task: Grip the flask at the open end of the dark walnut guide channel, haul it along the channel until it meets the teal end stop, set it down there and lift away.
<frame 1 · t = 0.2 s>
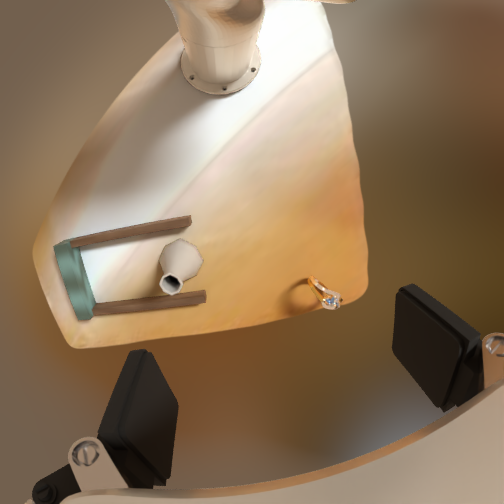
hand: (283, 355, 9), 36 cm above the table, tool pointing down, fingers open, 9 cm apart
flask: (181, 259, 46), on the table
guide channel: (137, 266, 45), on the table
ring: (317, 281, 49), on the table
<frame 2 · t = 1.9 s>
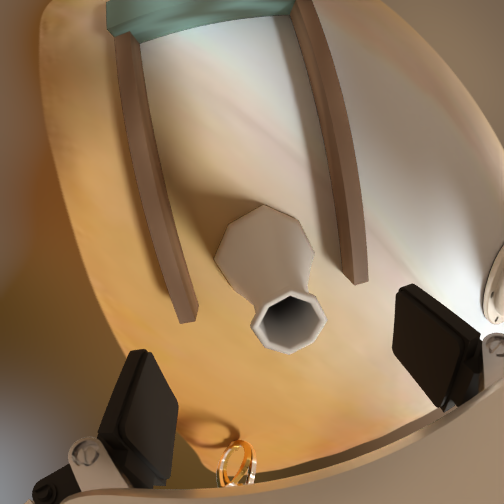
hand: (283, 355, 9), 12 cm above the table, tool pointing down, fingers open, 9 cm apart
flask: (264, 253, 21), on the table
guide channel: (242, 149, 19), on the table
ring: (234, 441, 28), on the table
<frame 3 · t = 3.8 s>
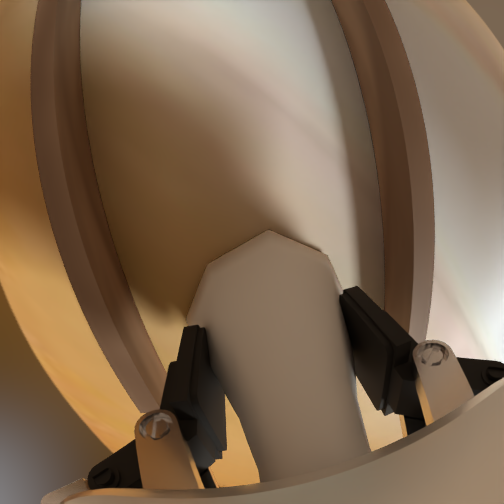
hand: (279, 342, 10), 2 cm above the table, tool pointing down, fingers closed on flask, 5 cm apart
flask: (268, 308, 13), on the table, touching gripper
guide channel: (231, 129, 10), on the table
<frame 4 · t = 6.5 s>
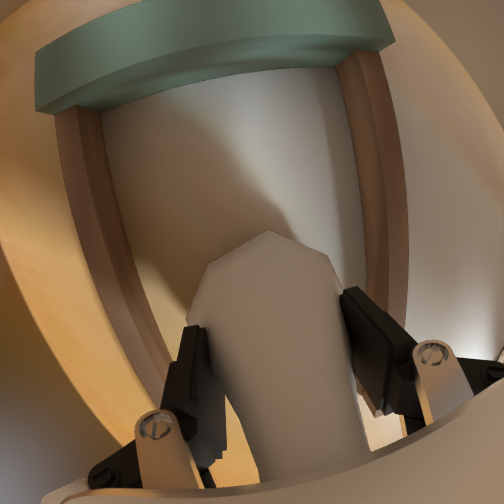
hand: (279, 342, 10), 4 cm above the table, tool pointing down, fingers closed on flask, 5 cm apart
flask: (268, 308, 13), point 2 cm above the table, touching gripper
guide channel: (261, 293, 14), on the table
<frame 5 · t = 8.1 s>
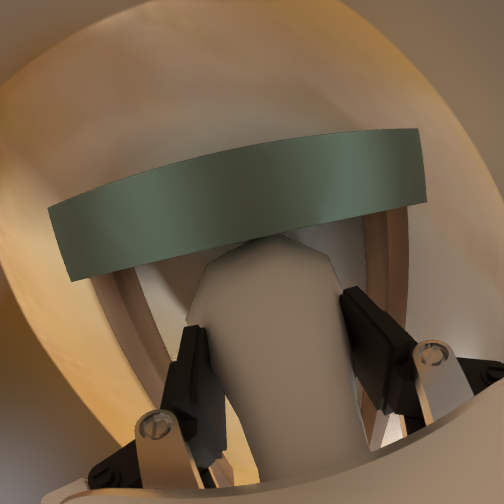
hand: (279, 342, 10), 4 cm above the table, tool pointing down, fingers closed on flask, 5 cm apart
flask: (268, 308, 13), point 2 cm above the table, touching gripper
guide channel: (280, 385, 16), on the table
when the fingers open (3 cm above the table, at t = 9.3 s): flask stays where it is, on the table.
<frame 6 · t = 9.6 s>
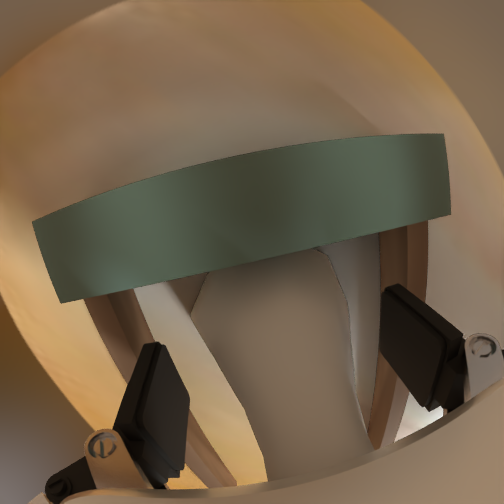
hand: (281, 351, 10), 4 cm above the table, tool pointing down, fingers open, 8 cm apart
flask: (270, 305, 13), on the table
guide channel: (287, 402, 15), on the table
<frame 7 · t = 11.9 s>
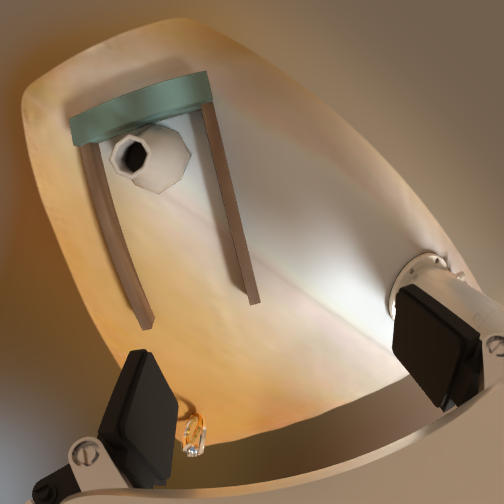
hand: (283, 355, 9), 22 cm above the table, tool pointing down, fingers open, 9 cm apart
flask: (156, 158, 27), on the table
guide channel: (171, 221, 29), on the table
ring: (193, 415, 39), on the table
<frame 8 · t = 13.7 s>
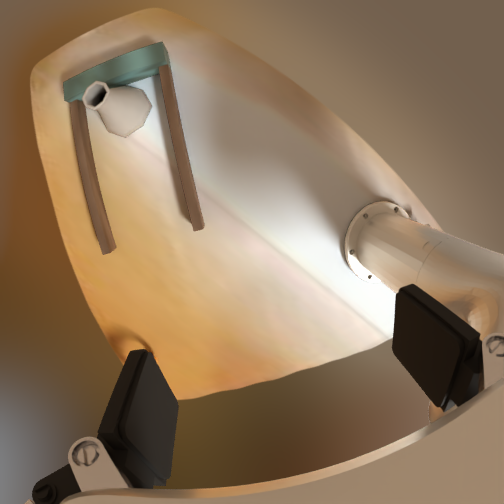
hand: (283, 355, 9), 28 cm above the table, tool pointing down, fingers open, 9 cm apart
flask: (126, 111, 31), on the table
guide channel: (134, 159, 33), on the table
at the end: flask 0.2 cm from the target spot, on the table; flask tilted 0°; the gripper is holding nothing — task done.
